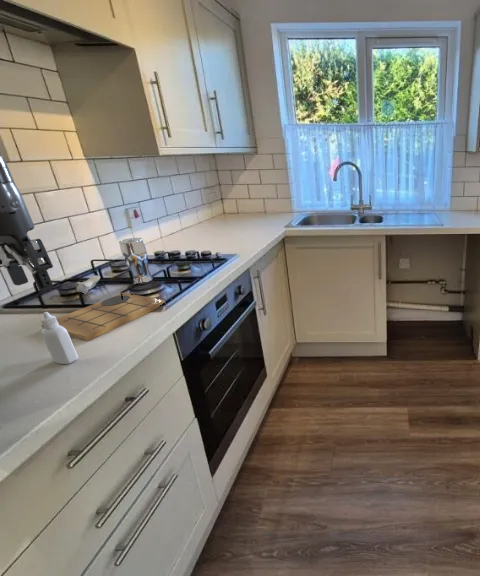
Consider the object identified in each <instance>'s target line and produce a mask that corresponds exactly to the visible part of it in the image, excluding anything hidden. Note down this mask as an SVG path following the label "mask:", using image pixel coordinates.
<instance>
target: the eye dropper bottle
mask: <svg viewBox="0 0 480 576" xmlns="http://www.w3.org/2000/svg"><path fill="white" fill-rule="evenodd" d="M40 322H41V325H42V324H43V326H44V329H43V328H42V329H41V331H40V334H41V337H42V339H43V342H44V344H45V346H46V348H47V350H48V352H49V354H50V356H51V359H52V361H53V362H54V363H56V364H58V365H68V364H72V363H73V362H76V361H77V360H78V359H79V355H78V352H77V351H76V348H75V346H74V344H73V341H72V339H71V337H70V336H69V334H68V332H67V330H66V329H65V328H64V327H62V326H60V325H59V324H58V321H57V317H56V315H51V314H50V313H49V312H48V311H45V312H43V318H41V319H40Z"/></svg>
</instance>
